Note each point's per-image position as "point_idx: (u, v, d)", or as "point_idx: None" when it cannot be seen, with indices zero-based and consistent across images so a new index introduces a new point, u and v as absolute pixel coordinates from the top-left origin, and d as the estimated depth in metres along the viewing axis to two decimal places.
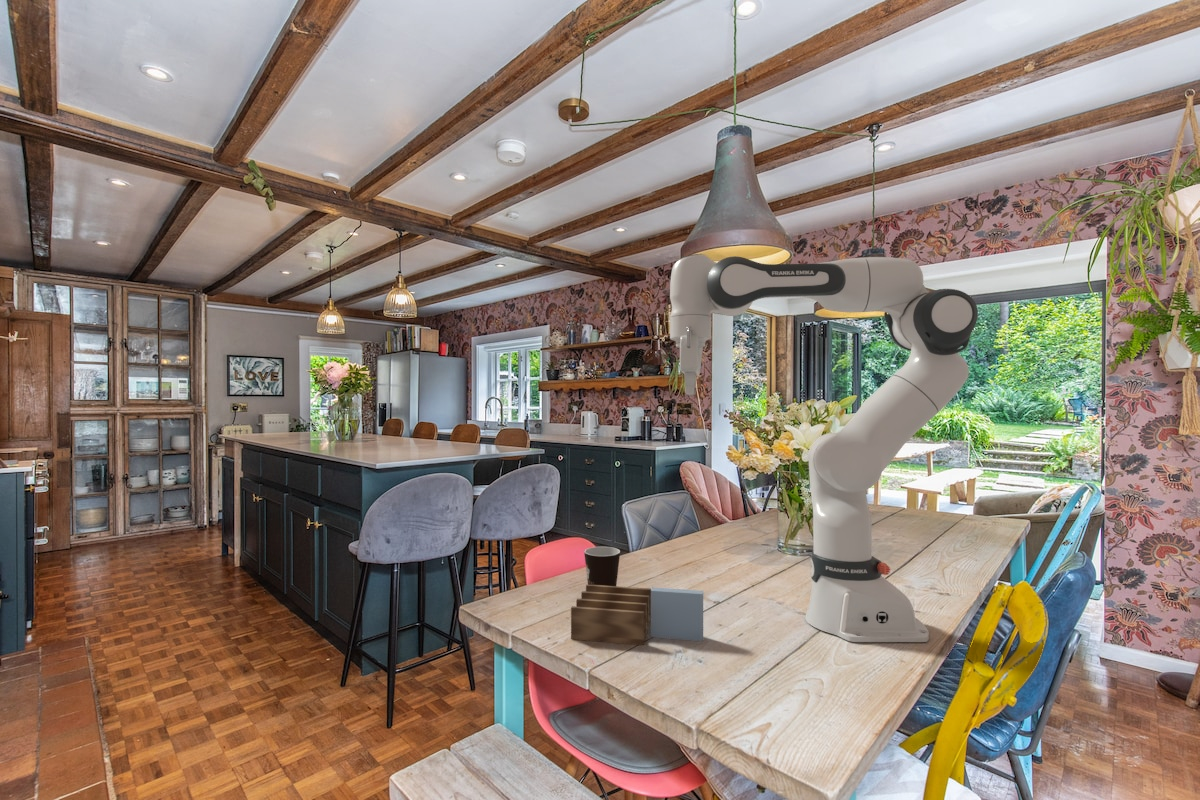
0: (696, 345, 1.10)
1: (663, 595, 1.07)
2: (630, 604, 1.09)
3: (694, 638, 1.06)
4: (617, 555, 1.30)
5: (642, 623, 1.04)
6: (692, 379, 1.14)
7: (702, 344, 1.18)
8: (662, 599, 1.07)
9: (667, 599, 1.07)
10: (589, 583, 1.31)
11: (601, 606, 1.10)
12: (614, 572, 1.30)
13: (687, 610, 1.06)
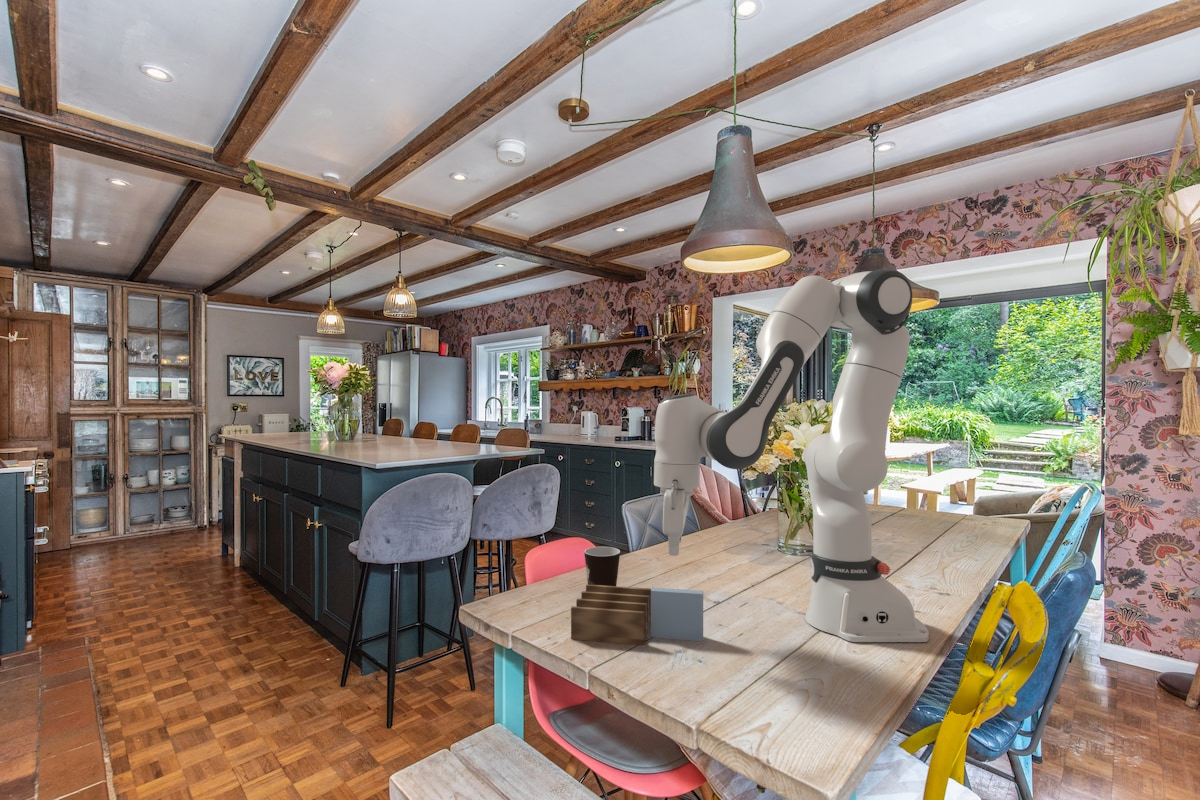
0: (681, 507, 0.98)
1: (663, 595, 1.07)
2: (630, 604, 1.09)
3: (694, 638, 1.06)
4: (617, 555, 1.30)
5: (642, 623, 1.04)
6: (676, 540, 1.01)
7: (689, 495, 1.06)
8: (662, 599, 1.07)
9: (667, 599, 1.07)
10: (589, 583, 1.31)
11: (601, 606, 1.10)
12: (614, 572, 1.30)
13: (687, 610, 1.06)
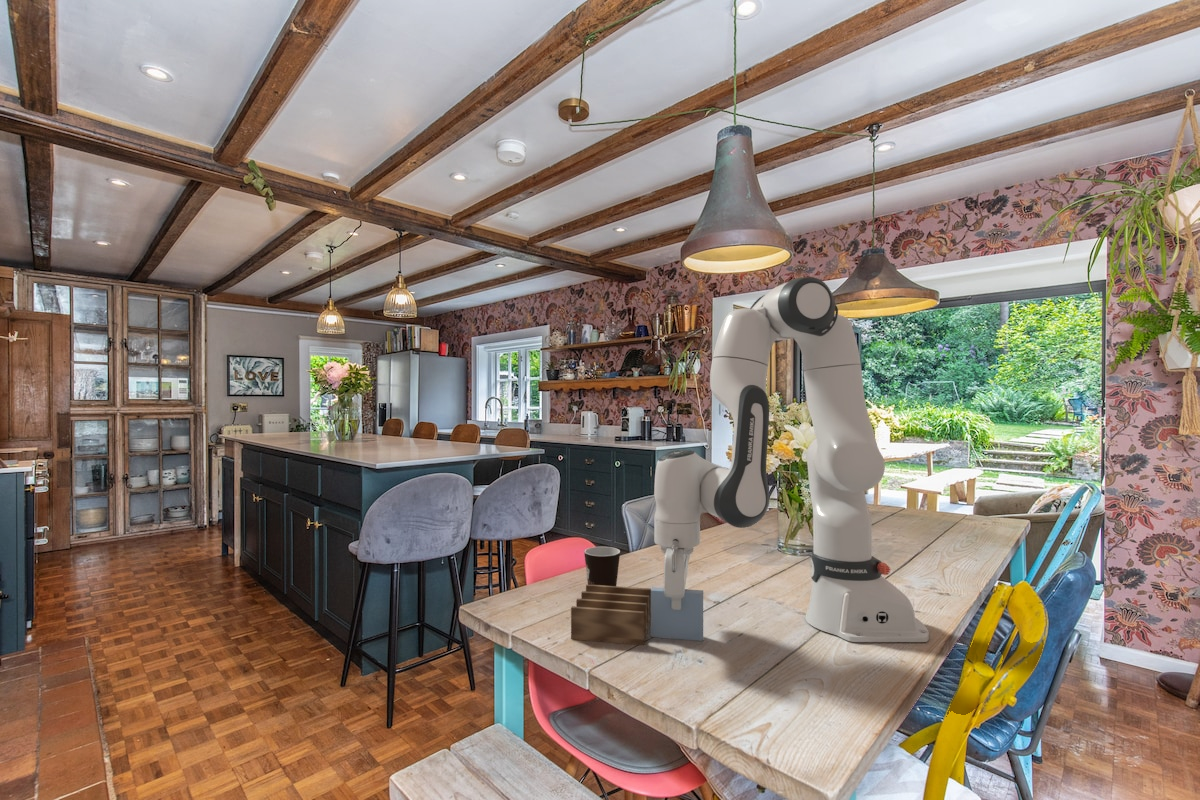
0: (682, 569, 0.98)
1: (663, 595, 1.07)
2: (630, 604, 1.09)
3: (694, 638, 1.06)
4: (617, 555, 1.30)
5: (642, 623, 1.04)
6: None
7: (690, 553, 1.06)
8: (662, 598, 1.07)
9: (667, 599, 1.07)
10: (589, 583, 1.31)
11: (601, 606, 1.10)
12: (614, 572, 1.30)
13: (687, 610, 1.06)
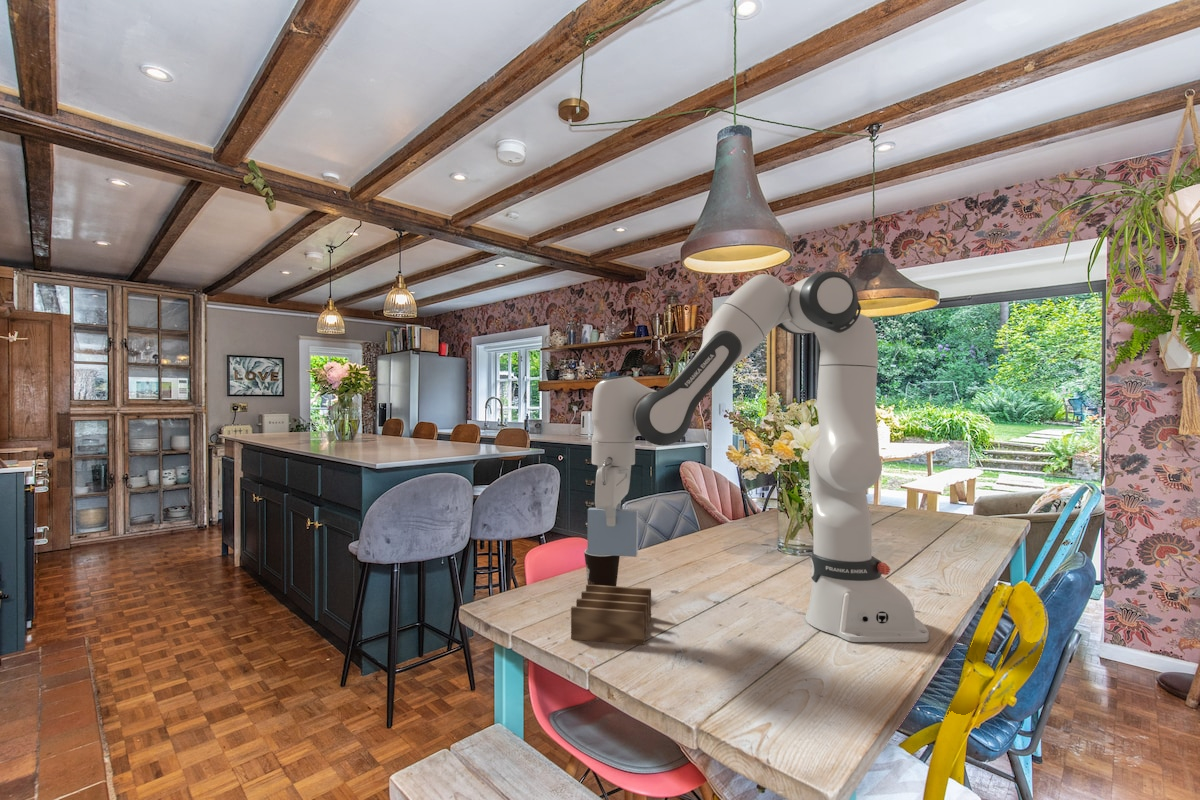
0: (612, 482, 1.03)
1: (599, 513, 1.12)
2: (630, 604, 1.09)
3: (628, 554, 1.11)
4: None
5: (642, 623, 1.04)
6: (613, 511, 1.09)
7: (624, 472, 1.10)
8: (598, 517, 1.12)
9: (603, 517, 1.12)
10: (589, 583, 1.31)
11: (601, 606, 1.10)
12: (614, 572, 1.30)
13: (621, 527, 1.11)
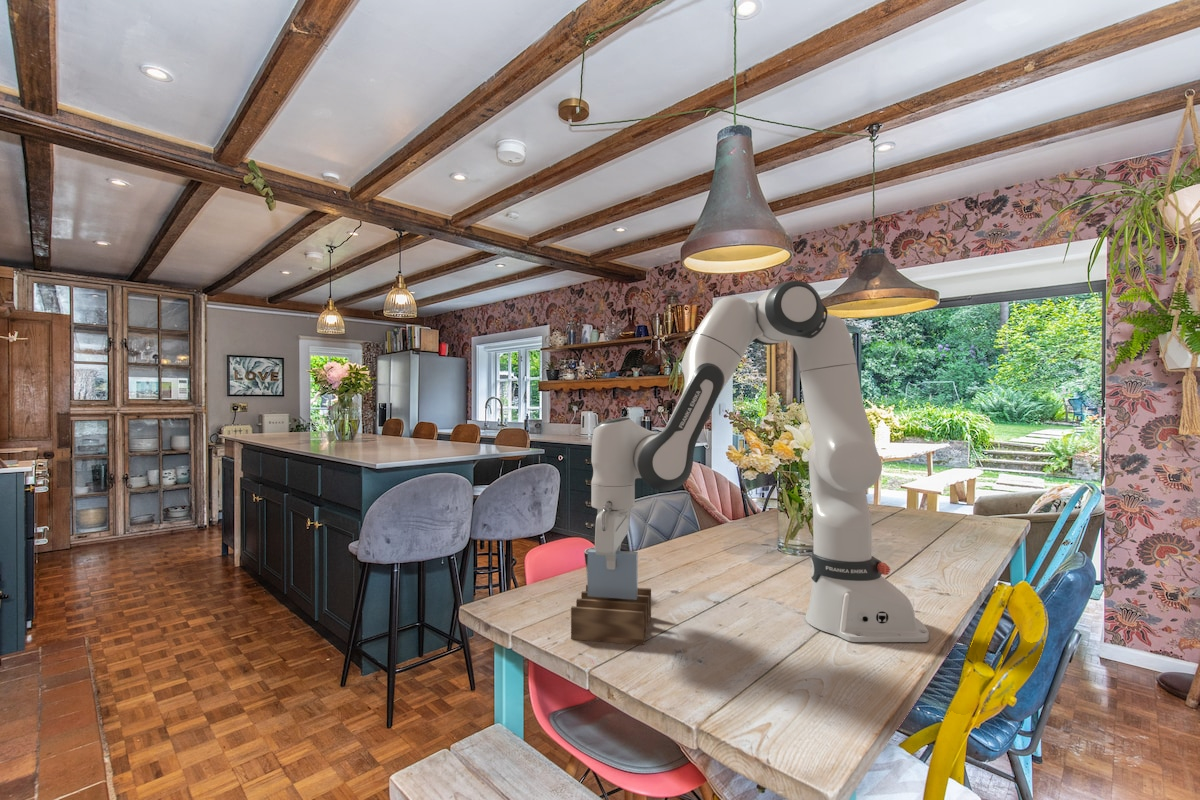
0: (612, 528, 1.03)
1: (599, 556, 1.12)
2: (630, 604, 1.09)
3: (628, 597, 1.11)
4: None
5: (642, 623, 1.04)
6: (613, 555, 1.09)
7: (624, 515, 1.10)
8: (598, 559, 1.12)
9: (603, 560, 1.12)
10: None
11: (601, 606, 1.10)
12: None
13: (621, 570, 1.11)
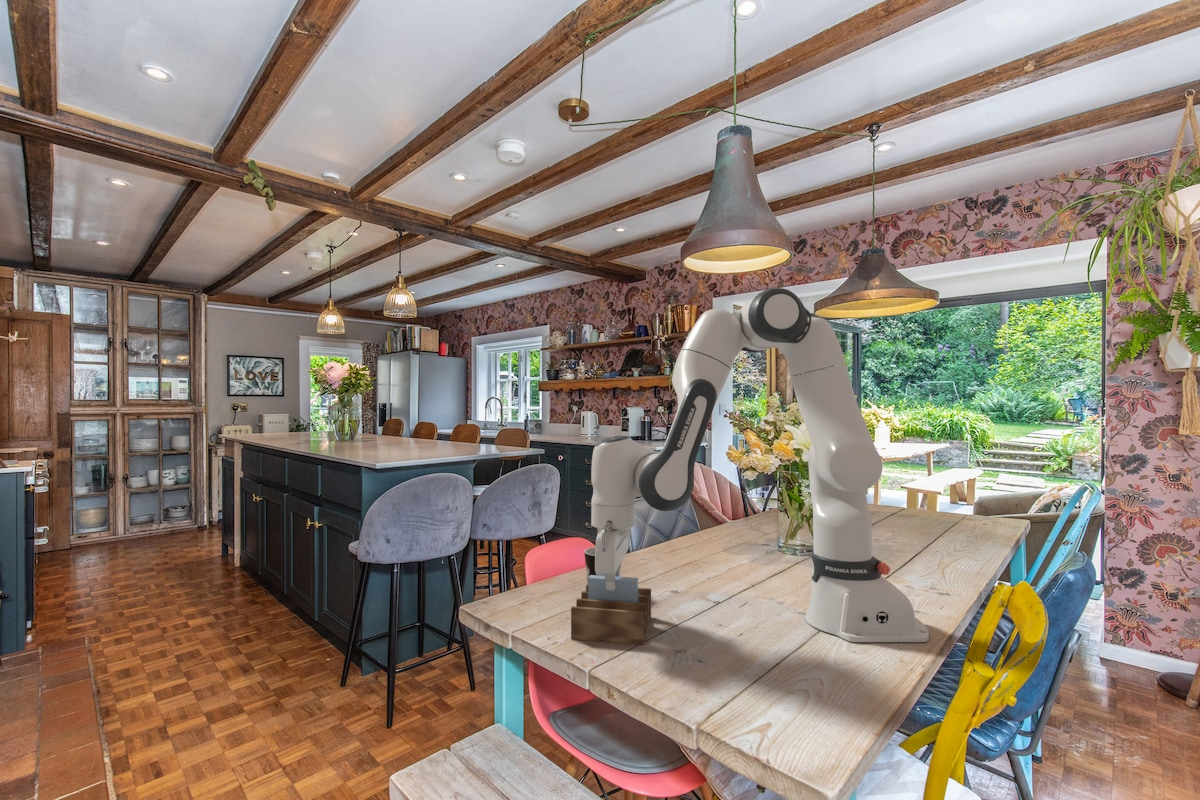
0: (612, 549, 1.03)
1: (600, 582, 1.12)
2: (630, 604, 1.09)
3: None
4: None
5: (642, 623, 1.04)
6: (612, 576, 1.08)
7: (624, 534, 1.10)
8: (598, 586, 1.12)
9: (603, 586, 1.12)
10: None
11: (601, 606, 1.10)
12: None
13: (622, 596, 1.11)
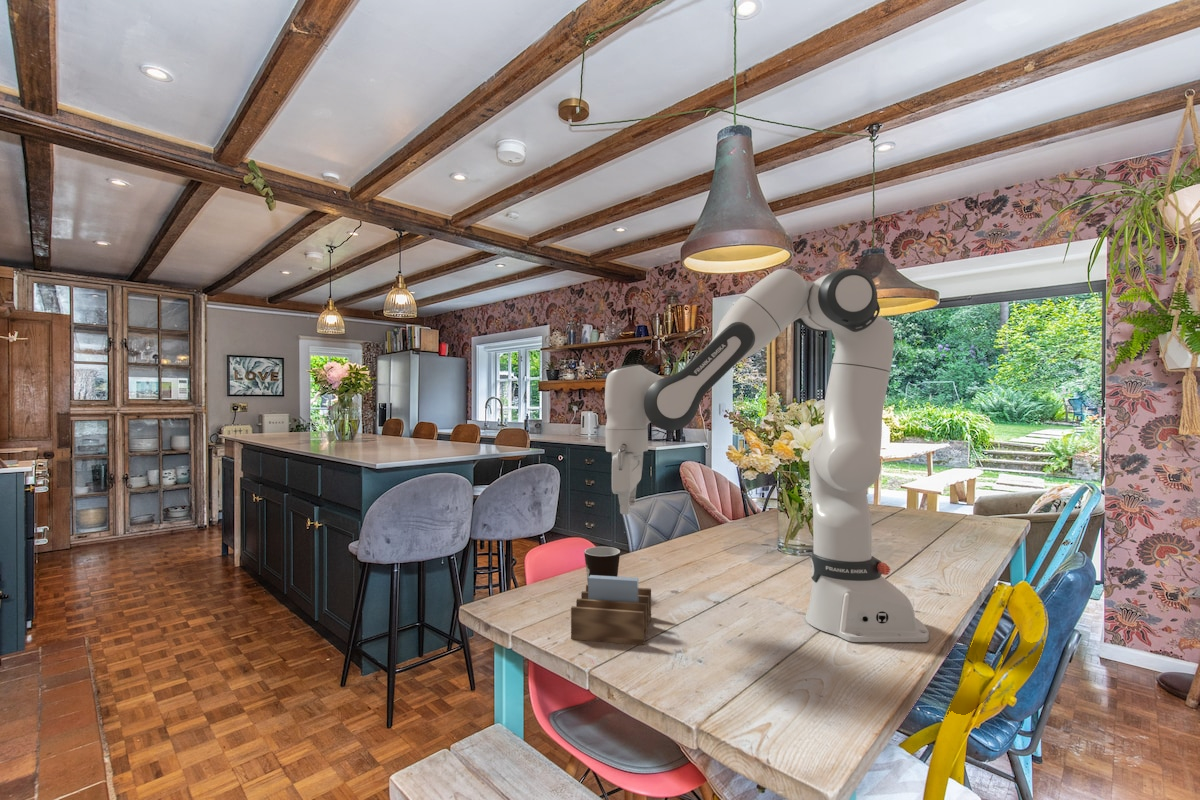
0: (628, 467, 1.06)
1: (600, 582, 1.12)
2: (630, 604, 1.09)
3: None
4: (617, 555, 1.30)
5: (642, 623, 1.04)
6: (626, 499, 1.09)
7: (638, 458, 1.13)
8: (598, 586, 1.12)
9: (603, 586, 1.12)
10: None
11: (601, 606, 1.10)
12: (614, 572, 1.30)
13: (622, 596, 1.11)
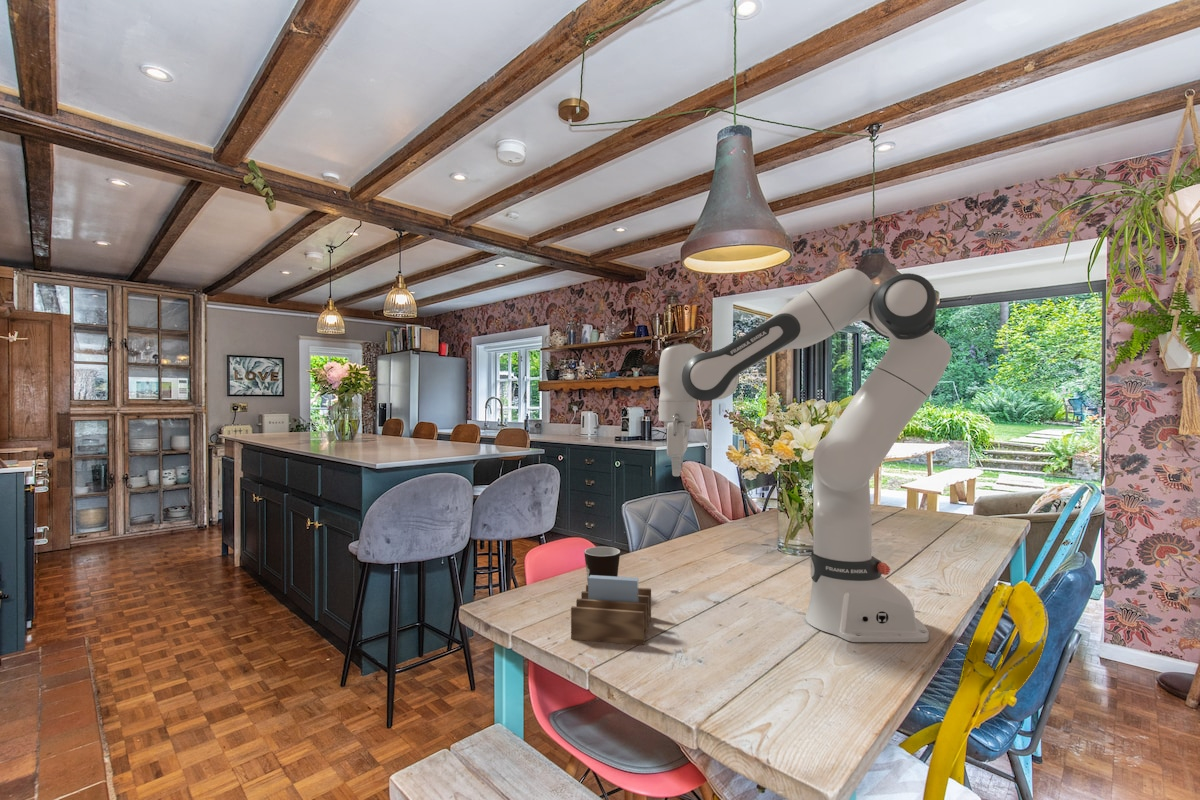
0: (682, 433, 1.19)
1: (600, 582, 1.12)
2: (630, 604, 1.09)
3: None
4: (617, 555, 1.30)
5: (642, 623, 1.04)
6: (678, 462, 1.22)
7: (688, 427, 1.26)
8: (598, 586, 1.12)
9: (603, 586, 1.12)
10: None
11: (601, 606, 1.10)
12: (614, 572, 1.30)
13: (622, 596, 1.11)
